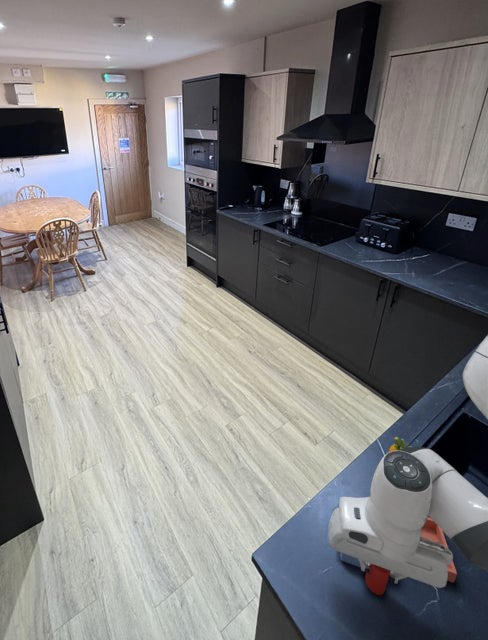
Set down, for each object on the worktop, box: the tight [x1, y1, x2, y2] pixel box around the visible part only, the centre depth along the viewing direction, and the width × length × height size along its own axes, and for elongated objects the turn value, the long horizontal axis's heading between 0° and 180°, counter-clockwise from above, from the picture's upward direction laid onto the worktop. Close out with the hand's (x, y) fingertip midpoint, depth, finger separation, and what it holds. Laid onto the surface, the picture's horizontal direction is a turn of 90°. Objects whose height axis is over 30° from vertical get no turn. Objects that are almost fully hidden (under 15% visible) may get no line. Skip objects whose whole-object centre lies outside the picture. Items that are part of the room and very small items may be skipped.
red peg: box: [364, 563, 391, 596], centre depth 66 cm, size 4×4×7 cm
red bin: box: [421, 516, 458, 583], centre depth 73 cm, size 11×10×3 cm
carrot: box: [387, 436, 413, 453], centre depth 84 cm, size 5×5×15 cm
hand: (377, 572), depth 66 cm, fingers closed on red peg, 3 cm apart
